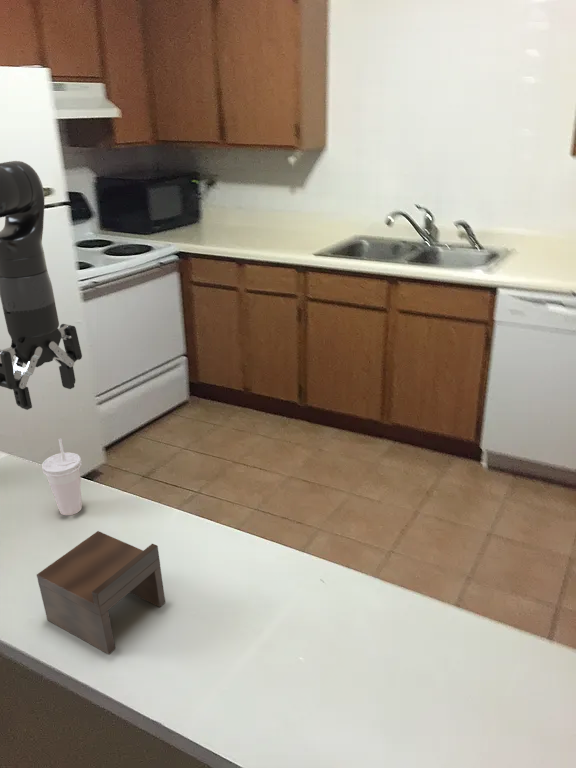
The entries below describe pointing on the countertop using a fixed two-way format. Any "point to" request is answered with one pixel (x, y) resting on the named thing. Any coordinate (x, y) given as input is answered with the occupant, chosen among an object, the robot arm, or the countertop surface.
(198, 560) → the countertop surface
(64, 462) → the smoothie
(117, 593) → the shelf
